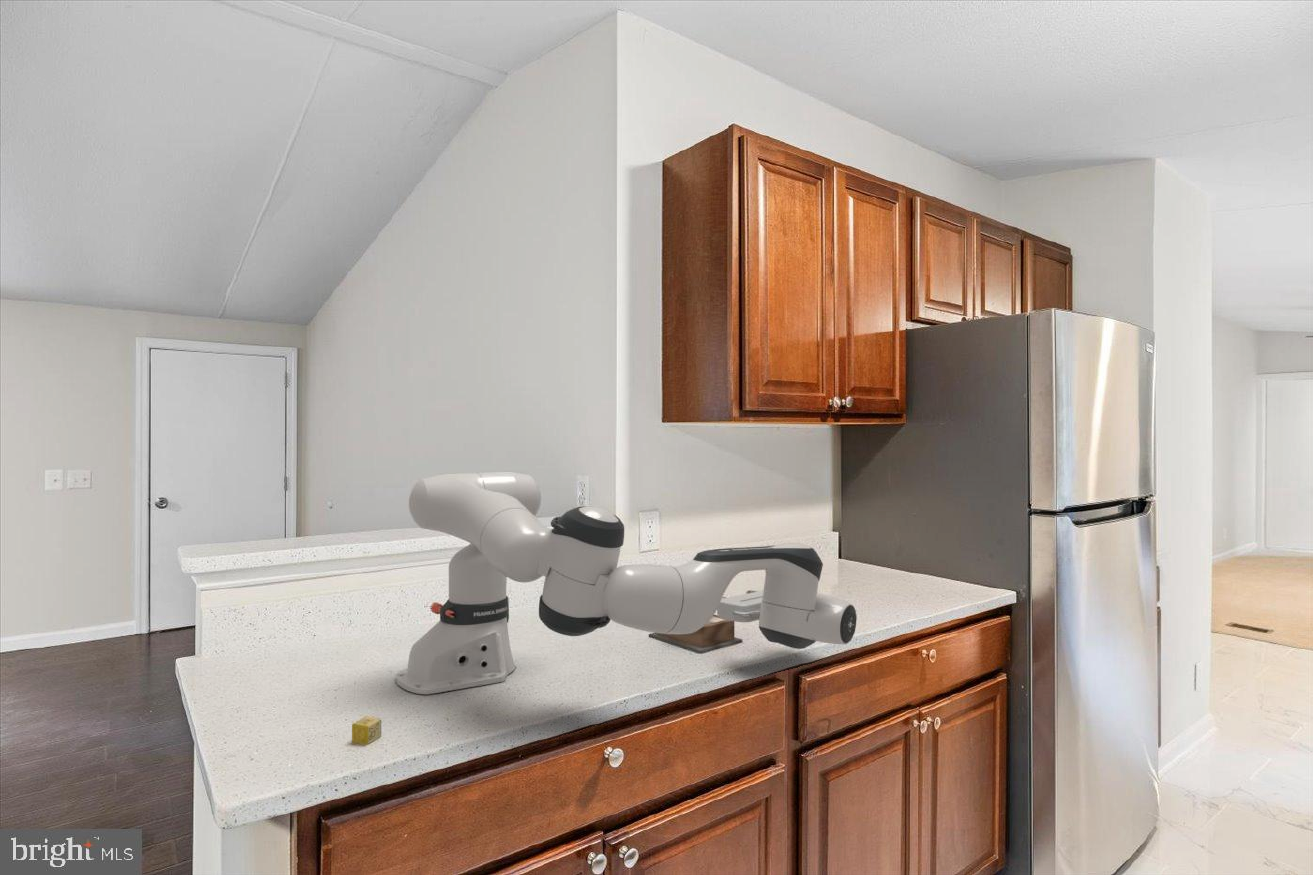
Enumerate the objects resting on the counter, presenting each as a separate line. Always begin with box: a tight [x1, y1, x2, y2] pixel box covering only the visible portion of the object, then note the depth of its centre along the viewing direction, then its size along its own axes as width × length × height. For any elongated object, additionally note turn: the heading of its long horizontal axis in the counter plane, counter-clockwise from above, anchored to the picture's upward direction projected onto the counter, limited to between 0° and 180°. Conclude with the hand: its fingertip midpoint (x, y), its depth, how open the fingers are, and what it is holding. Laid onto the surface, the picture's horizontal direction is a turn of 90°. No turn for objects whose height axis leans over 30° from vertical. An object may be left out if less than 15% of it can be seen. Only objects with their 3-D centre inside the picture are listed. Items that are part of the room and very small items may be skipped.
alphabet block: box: [351, 715, 382, 746], centre depth 114 cm, size 3×3×3 cm
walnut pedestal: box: [648, 614, 743, 654], centre depth 167 cm, size 13×17×5 cm
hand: (733, 597), depth 158 cm, fingers open, 8 cm apart
